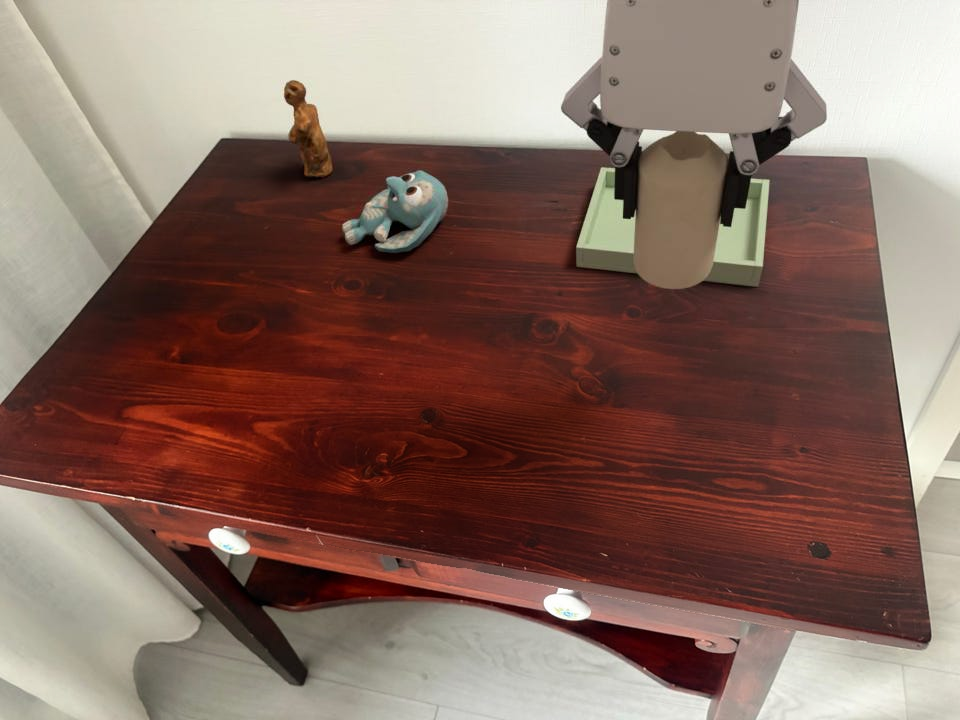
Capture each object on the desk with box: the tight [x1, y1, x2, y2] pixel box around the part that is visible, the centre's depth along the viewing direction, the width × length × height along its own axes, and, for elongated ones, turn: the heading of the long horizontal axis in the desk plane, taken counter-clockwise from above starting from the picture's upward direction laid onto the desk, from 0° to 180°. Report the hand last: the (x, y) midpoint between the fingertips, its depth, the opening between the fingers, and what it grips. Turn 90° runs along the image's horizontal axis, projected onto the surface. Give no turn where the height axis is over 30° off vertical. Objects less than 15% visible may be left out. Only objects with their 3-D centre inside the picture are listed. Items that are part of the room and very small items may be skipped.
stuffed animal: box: [341, 169, 449, 254], centre depth 80 cm, size 11×7×12 cm
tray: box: [575, 167, 771, 288], centre depth 76 cm, size 17×13×3 cm
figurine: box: [283, 79, 334, 179], centre depth 87 cm, size 5×6×12 cm
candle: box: [633, 131, 729, 290], centre depth 50 cm, size 6×6×10 cm
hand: (678, 207), depth 50 cm, fingers closed on candle, 5 cm apart
